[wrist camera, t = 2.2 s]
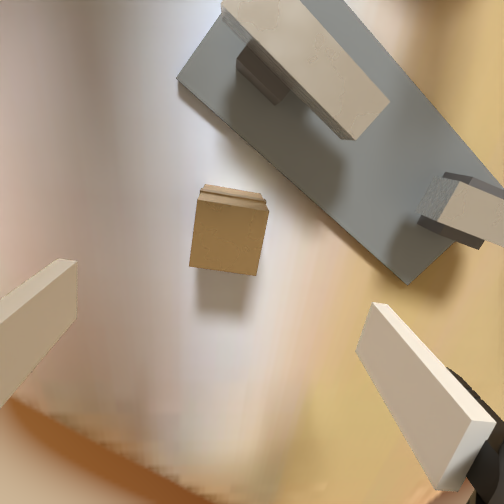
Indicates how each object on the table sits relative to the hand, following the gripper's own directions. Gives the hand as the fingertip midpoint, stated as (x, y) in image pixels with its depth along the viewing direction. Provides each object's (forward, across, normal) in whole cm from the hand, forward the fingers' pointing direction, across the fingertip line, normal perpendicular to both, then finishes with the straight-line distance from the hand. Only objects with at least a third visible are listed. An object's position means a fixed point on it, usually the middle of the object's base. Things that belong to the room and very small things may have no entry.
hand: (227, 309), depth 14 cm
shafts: (+12, +10, +10) cm, 18 cm away
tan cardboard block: (+16, 0, 0) cm, 16 cm away
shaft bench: (+16, +9, +9) cm, 21 cm away
